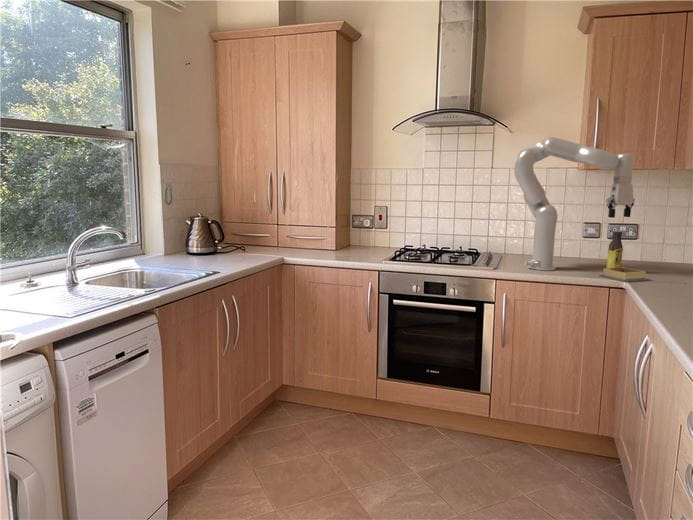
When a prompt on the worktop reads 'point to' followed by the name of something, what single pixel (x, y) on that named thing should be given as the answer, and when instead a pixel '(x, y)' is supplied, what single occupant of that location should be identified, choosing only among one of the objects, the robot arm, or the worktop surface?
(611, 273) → the yellow square tray
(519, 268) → the worktop surface
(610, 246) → the sauce bottle
